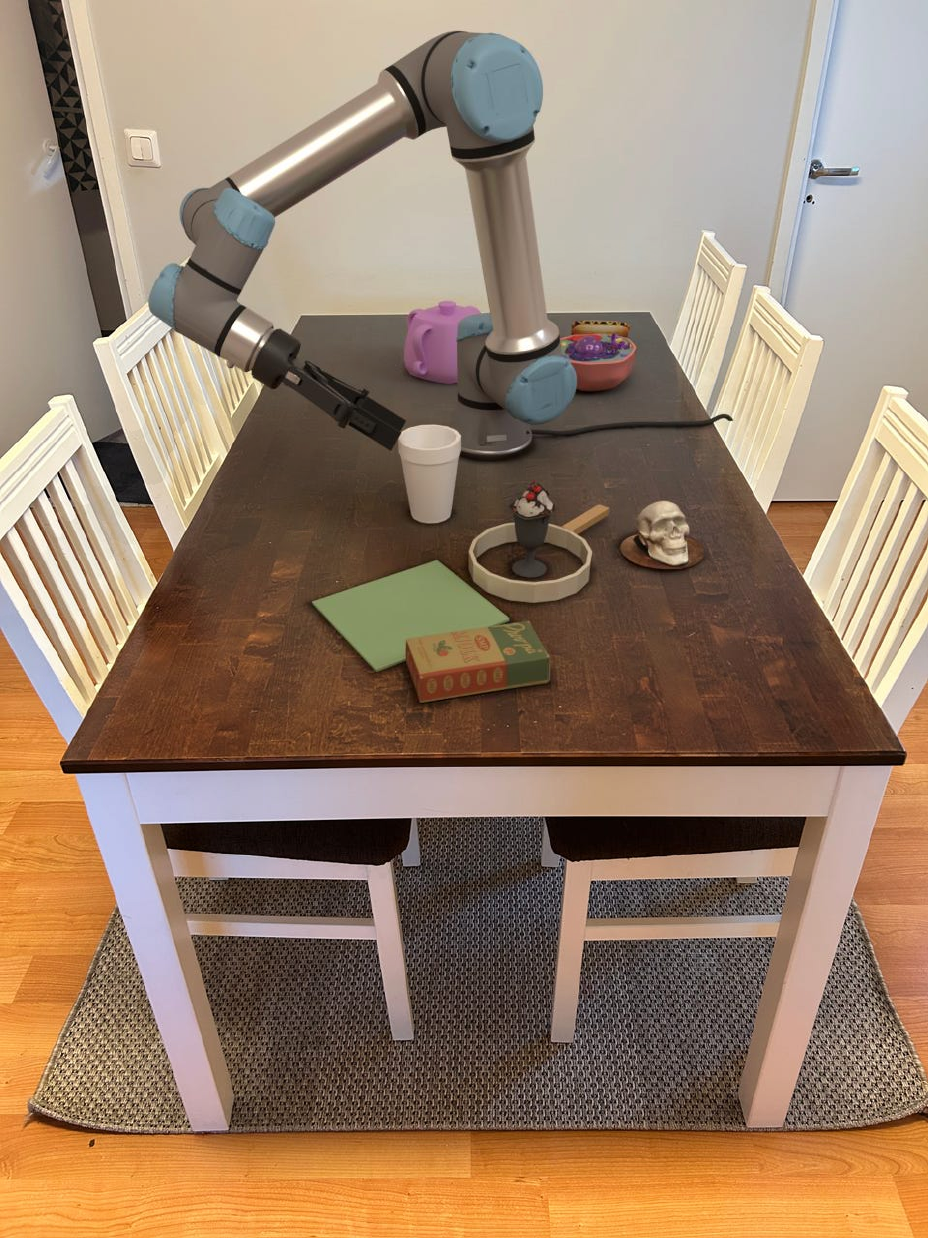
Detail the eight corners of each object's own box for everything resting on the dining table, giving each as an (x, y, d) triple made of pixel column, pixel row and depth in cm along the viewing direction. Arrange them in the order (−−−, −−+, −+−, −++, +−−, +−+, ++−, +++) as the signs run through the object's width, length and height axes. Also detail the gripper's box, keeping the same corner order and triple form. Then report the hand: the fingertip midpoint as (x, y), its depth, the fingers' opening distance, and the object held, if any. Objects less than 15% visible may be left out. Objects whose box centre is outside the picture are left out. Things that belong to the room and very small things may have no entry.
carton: (405, 664, 115) (404, 635, 112) (528, 644, 118) (530, 616, 116) (420, 705, 108) (419, 676, 106) (550, 683, 112) (552, 655, 109)
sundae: (521, 586, 130) (525, 488, 121) (498, 563, 134) (500, 469, 126) (561, 574, 132) (568, 478, 123) (537, 553, 137) (542, 459, 128)
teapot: (404, 355, 208) (401, 290, 200) (496, 353, 209) (498, 288, 201) (405, 387, 192) (402, 317, 184) (505, 384, 193) (507, 314, 185)
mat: (437, 561, 135) (437, 559, 135) (509, 620, 123) (509, 618, 122) (312, 604, 126) (311, 601, 126) (376, 672, 113) (376, 669, 113)
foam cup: (391, 521, 145) (388, 444, 137) (414, 496, 152) (412, 421, 144) (448, 532, 142) (448, 453, 135) (469, 505, 149) (469, 429, 142)
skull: (724, 561, 133) (687, 520, 127) (667, 607, 136) (628, 568, 130) (692, 519, 142) (655, 479, 136) (639, 562, 145) (601, 525, 139)
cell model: (648, 379, 196) (654, 325, 189) (608, 410, 182) (613, 353, 176) (576, 364, 203) (580, 312, 197) (532, 393, 189) (534, 337, 183)
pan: (587, 512, 147) (589, 495, 146) (663, 559, 135) (666, 541, 134) (446, 560, 135) (446, 542, 134) (516, 616, 123) (517, 597, 122)
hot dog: (628, 348, 212) (631, 326, 210) (570, 346, 213) (571, 324, 211) (627, 341, 216) (630, 319, 214) (570, 339, 218) (571, 317, 215)
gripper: (267, 369, 137) (391, 445, 141) (228, 382, 114) (378, 473, 118) (291, 324, 135) (416, 402, 139) (257, 327, 112) (408, 422, 116)
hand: (399, 435), depth 128 cm, fingers open, 13 cm apart
